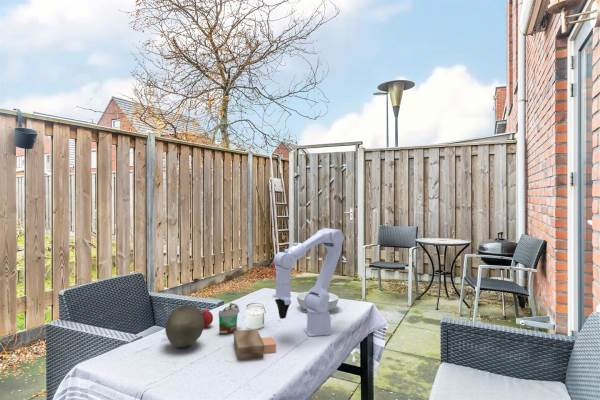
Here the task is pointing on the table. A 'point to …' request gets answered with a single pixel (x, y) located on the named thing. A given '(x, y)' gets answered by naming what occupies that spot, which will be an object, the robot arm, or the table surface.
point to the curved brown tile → (248, 344)
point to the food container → (228, 319)
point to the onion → (207, 317)
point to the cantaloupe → (184, 325)
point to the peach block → (269, 345)
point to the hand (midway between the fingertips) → (282, 317)
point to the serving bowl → (332, 300)
